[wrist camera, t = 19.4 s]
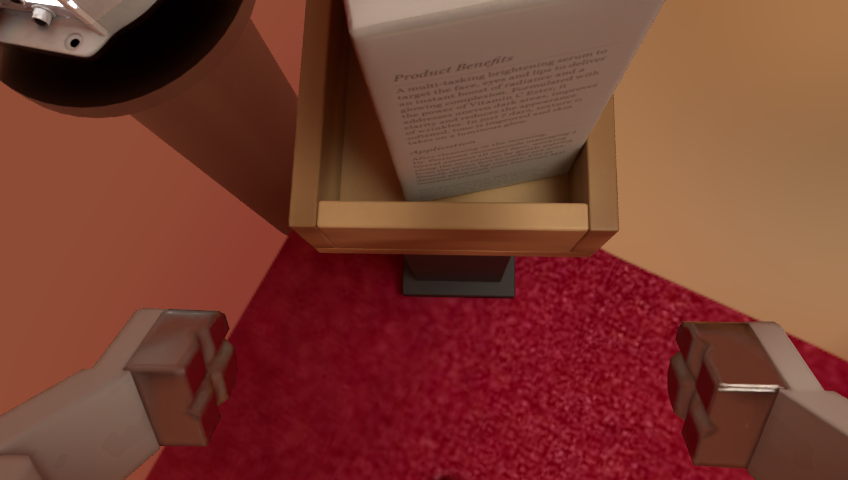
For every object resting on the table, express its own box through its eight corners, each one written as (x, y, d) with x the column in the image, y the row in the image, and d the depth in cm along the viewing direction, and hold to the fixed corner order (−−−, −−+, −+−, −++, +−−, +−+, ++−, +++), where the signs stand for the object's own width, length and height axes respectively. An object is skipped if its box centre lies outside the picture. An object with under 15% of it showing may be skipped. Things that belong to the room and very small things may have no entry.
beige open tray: (318, 253, 20) (287, 226, 17) (338, -33, 23) (314, -112, 19) (590, 257, 20) (619, 231, 16) (581, -38, 22) (604, -120, 19)
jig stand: (403, 296, 44) (337, 209, 21) (407, 191, 46) (350, 2, 22) (513, 298, 44) (572, 212, 20) (513, 192, 45) (567, 0, 22)
